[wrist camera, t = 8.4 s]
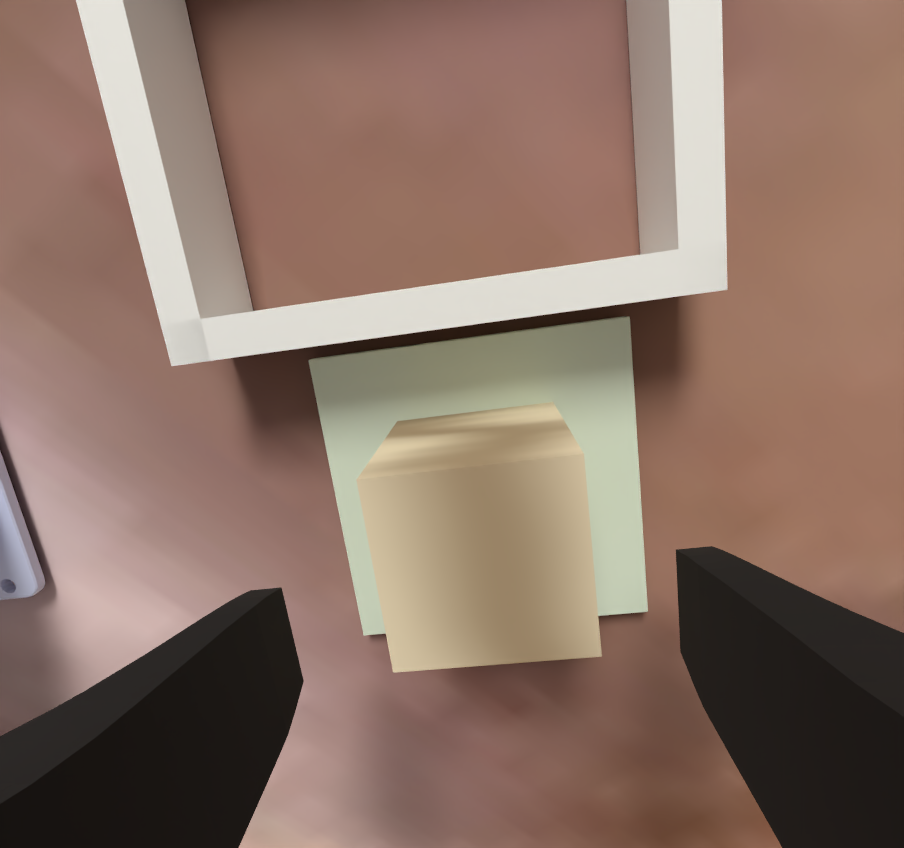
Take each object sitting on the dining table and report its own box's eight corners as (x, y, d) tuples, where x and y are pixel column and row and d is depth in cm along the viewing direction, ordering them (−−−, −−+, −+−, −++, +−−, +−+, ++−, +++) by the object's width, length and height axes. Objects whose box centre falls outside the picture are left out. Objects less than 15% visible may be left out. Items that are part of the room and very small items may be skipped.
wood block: (421, 561, 17) (393, 672, 12) (397, 421, 16) (356, 480, 11) (567, 546, 16) (602, 656, 11) (553, 401, 15) (583, 453, 10)
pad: (367, 626, 18) (363, 635, 17) (313, 358, 16) (308, 360, 15) (643, 602, 17) (647, 611, 16) (625, 315, 15) (629, 316, 14)
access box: (229, 352, 16) (171, 365, 13) (115, -134, 13) (9, -255, 10) (679, 289, 15) (727, 290, 12) (658, -262, 12) (713, -440, 9)
